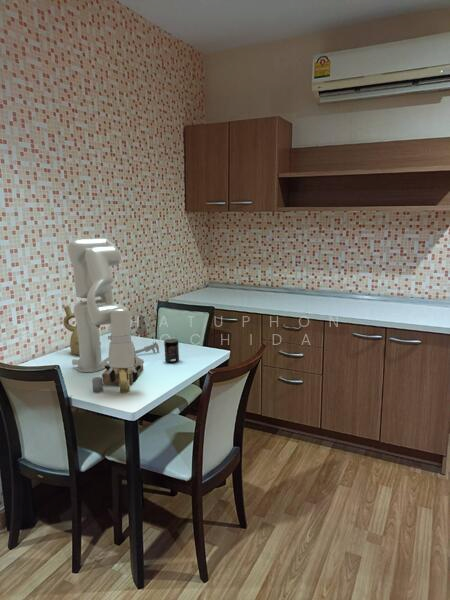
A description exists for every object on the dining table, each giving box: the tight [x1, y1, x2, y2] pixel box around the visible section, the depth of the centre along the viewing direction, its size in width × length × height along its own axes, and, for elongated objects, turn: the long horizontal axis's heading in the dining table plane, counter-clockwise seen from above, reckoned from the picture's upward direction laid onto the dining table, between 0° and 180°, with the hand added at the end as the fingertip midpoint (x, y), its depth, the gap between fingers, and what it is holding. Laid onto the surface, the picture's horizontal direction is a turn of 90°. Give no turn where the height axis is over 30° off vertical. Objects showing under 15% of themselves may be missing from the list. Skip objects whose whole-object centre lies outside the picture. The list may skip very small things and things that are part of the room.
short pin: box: [91, 376, 104, 394], centre depth 187 cm, size 4×4×5 cm
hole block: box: [101, 359, 144, 387], centre depth 202 cm, size 12×20×5 cm, turn 176°
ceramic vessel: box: [62, 305, 102, 356], centre depth 240 cm, size 17×20×25 cm
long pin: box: [118, 368, 131, 394], centre depth 185 cm, size 4×4×10 cm
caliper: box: [135, 341, 160, 355], centre depth 234 cm, size 20×1×6 cm, turn 114°
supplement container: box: [163, 338, 180, 365], centre depth 222 cm, size 7×7×10 cm
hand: (124, 381), depth 185 cm, fingers open, 8 cm apart
